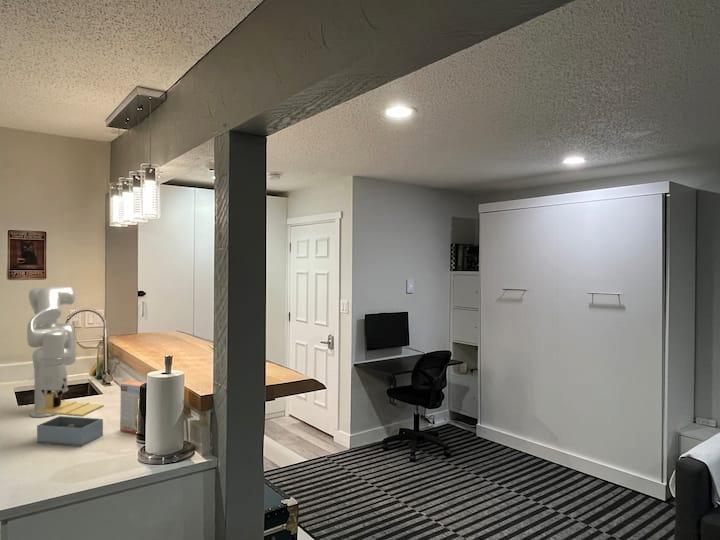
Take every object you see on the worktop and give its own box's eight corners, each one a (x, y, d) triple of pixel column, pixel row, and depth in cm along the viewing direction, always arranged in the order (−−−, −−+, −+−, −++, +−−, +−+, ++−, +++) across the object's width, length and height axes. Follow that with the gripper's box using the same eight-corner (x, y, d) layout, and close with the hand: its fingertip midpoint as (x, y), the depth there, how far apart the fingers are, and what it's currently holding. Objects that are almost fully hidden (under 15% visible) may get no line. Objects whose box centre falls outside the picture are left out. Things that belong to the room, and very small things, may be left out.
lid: (35, 412, 192) (35, 397, 192) (59, 402, 205) (59, 388, 204) (82, 416, 189) (82, 400, 189) (103, 406, 202) (103, 391, 202)
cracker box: (154, 431, 206) (154, 383, 206) (142, 436, 201) (143, 386, 200) (131, 426, 212) (131, 379, 212) (119, 431, 207) (119, 382, 206)
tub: (37, 442, 192) (37, 425, 192) (59, 432, 204) (60, 416, 204) (82, 446, 189) (82, 428, 189) (102, 435, 201) (102, 418, 201)
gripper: (28, 362, 195) (28, 407, 196) (64, 365, 193) (64, 410, 193) (42, 358, 202) (42, 401, 203) (77, 360, 200) (77, 404, 201)
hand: (53, 405), depth 198 cm, fingers closed on lid, 3 cm apart
